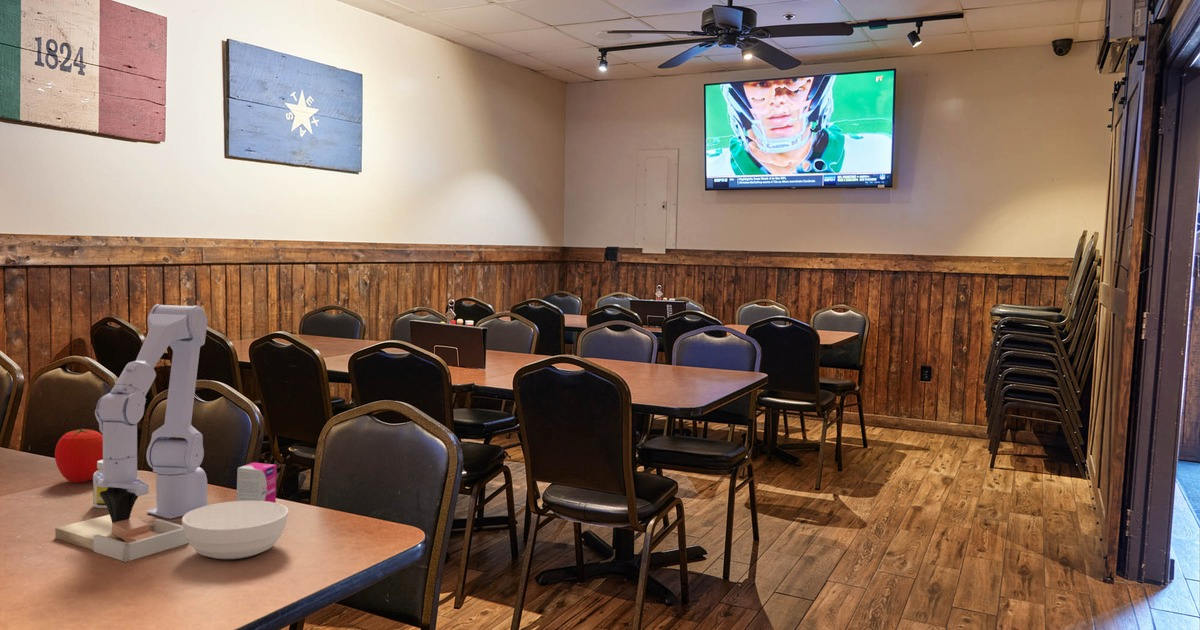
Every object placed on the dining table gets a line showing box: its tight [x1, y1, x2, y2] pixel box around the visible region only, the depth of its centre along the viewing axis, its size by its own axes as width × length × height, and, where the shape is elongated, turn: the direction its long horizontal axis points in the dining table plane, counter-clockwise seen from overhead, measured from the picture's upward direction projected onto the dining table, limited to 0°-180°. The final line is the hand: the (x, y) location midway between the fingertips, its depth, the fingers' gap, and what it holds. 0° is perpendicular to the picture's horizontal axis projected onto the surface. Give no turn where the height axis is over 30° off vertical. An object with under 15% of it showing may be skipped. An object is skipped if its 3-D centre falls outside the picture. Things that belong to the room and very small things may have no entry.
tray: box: [93, 518, 190, 563], centre depth 163 cm, size 13×10×3 cm
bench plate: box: [54, 514, 154, 551], centre depth 168 cm, size 12×13×2 cm
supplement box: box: [236, 462, 278, 503], centre depth 181 cm, size 6×6×12 cm
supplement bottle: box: [92, 460, 108, 509], centre depth 188 cm, size 5×5×10 cm
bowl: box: [181, 500, 289, 560], centre depth 161 cm, size 18×18×7 cm
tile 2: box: [126, 531, 159, 543], centre depth 162 cm, size 4×4×2 cm
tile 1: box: [112, 516, 149, 540], centre depth 164 cm, size 4×4×2 cm
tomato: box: [54, 428, 103, 484], centre depth 206 cm, size 11×11×13 cm
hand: (120, 526), depth 166 cm, fingers closed
